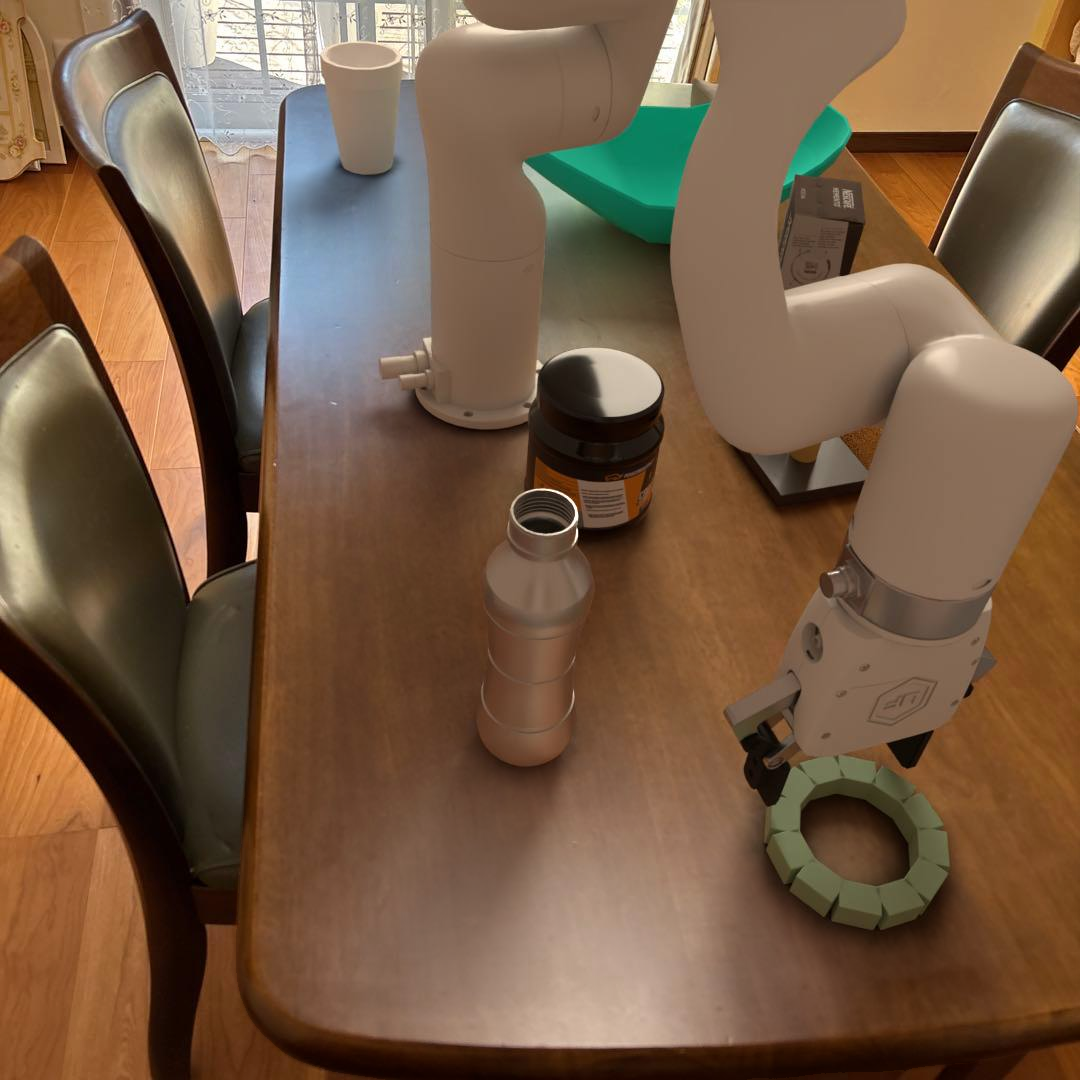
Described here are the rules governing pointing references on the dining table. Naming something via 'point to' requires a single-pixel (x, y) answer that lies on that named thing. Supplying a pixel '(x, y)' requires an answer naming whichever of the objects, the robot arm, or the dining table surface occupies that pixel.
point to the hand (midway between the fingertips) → (829, 767)
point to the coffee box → (820, 230)
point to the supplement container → (597, 436)
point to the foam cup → (363, 102)
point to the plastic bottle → (533, 630)
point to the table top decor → (664, 166)
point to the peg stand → (809, 472)
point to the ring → (828, 888)
